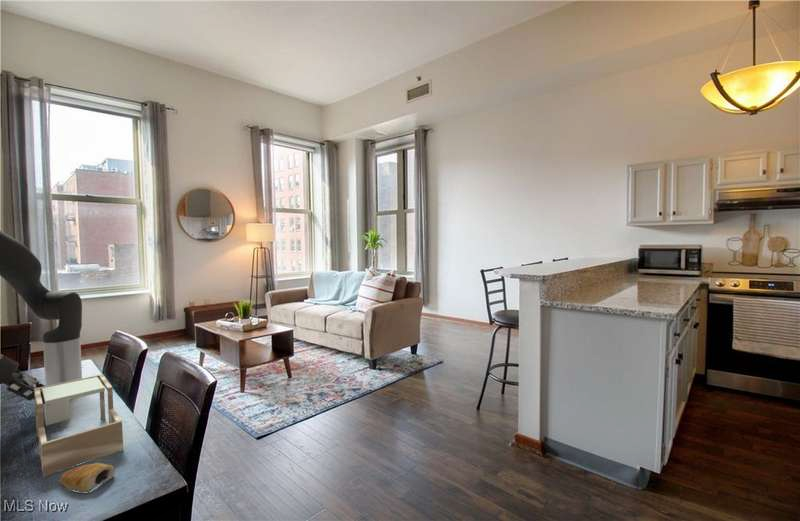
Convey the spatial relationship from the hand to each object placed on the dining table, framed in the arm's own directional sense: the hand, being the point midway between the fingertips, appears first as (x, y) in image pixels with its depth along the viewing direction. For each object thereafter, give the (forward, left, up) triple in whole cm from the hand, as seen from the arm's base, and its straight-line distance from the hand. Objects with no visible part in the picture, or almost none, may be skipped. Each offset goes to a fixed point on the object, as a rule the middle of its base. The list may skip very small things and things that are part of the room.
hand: (50, 397), depth 103 cm
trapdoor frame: (+19, +10, -7) cm, 22 cm away
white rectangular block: (0, +1, -7) cm, 7 cm away
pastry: (+40, +16, -7) cm, 43 cm away
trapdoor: (+14, +8, +5) cm, 17 cm away
